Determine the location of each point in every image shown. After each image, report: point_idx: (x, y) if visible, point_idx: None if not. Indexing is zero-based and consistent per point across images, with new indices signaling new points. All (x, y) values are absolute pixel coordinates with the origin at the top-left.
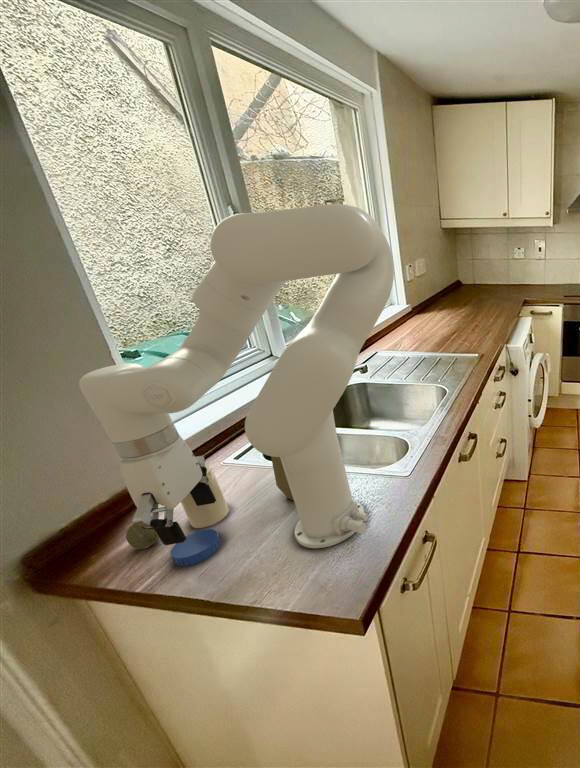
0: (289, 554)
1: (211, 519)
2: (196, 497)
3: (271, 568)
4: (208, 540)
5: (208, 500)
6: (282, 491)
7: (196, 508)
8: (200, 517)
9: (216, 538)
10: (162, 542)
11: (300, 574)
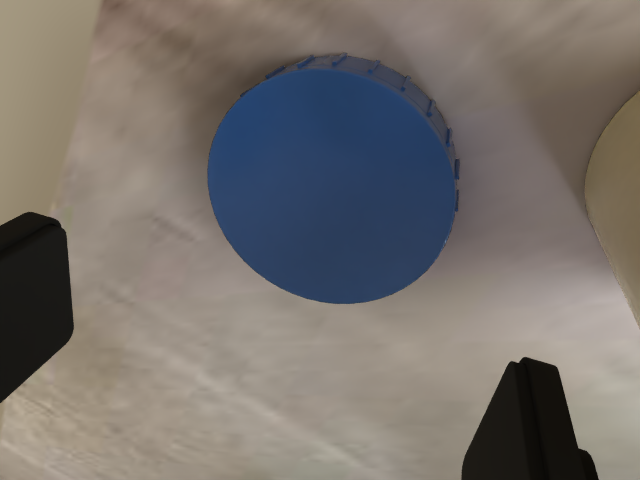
0: (188, 467)
1: (597, 232)
2: (506, 467)
3: (138, 423)
4: (314, 268)
5: (473, 474)
6: None
7: (637, 254)
8: (610, 203)
9: (319, 300)
10: (12, 220)
11: (100, 475)
